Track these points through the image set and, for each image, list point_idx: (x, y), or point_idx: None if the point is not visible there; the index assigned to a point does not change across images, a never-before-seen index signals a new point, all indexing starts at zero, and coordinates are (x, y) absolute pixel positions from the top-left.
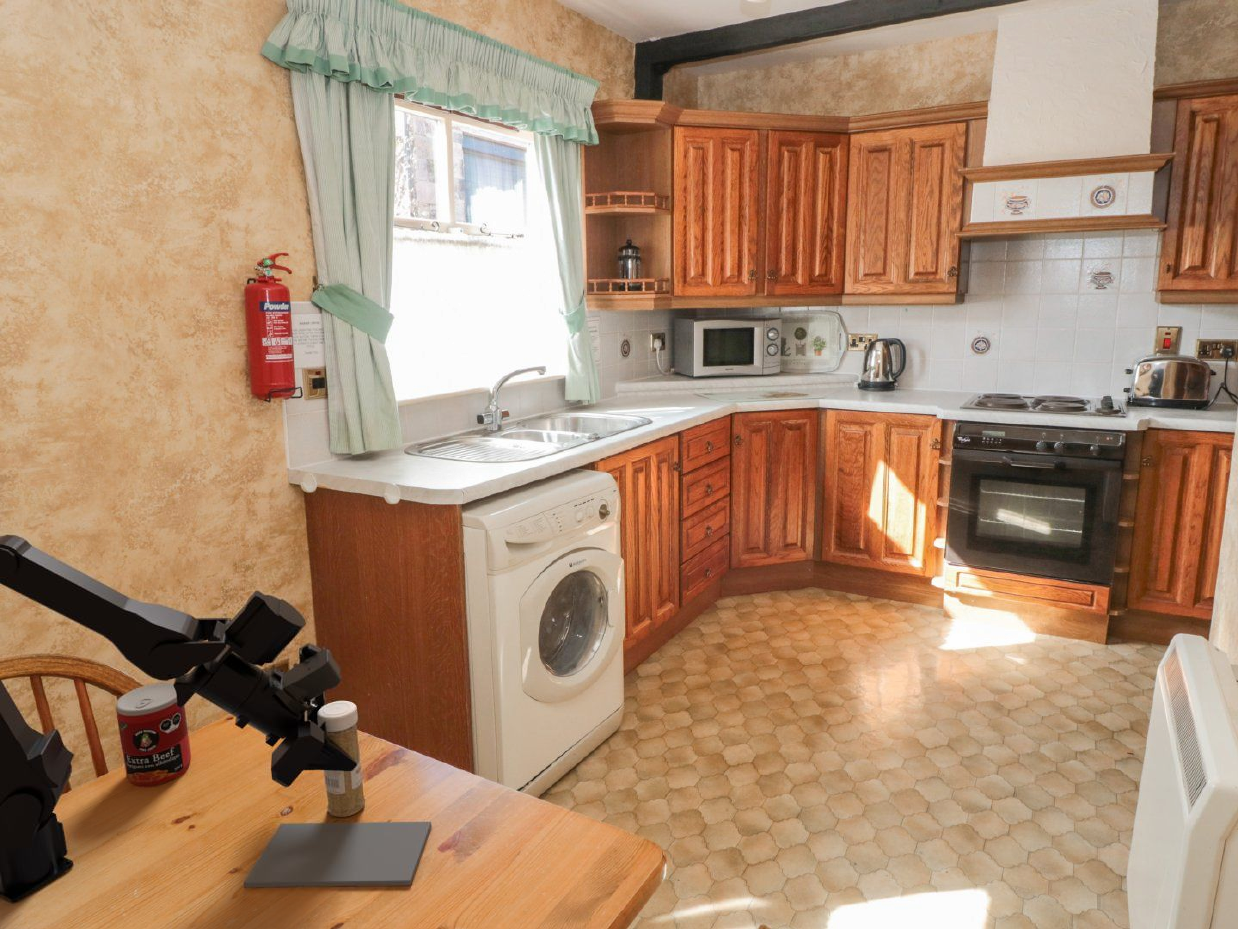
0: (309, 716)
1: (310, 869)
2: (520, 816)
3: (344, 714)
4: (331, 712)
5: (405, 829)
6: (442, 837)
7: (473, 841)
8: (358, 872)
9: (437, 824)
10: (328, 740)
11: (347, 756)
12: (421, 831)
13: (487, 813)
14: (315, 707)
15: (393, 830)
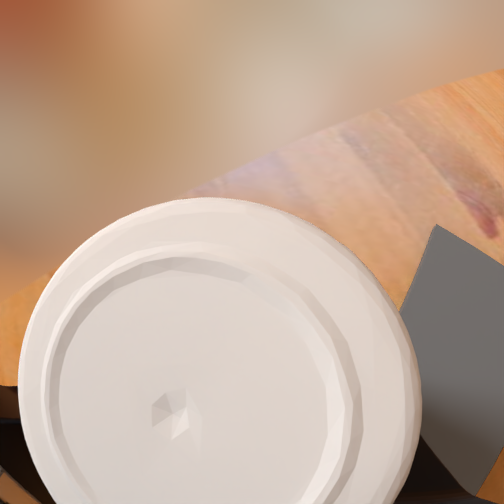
0: (46, 501)
1: (464, 472)
2: (443, 112)
3: (397, 364)
4: (237, 501)
5: (442, 276)
6: (466, 222)
7: (485, 184)
8: None
9: (429, 217)
10: (438, 496)
11: None
12: (458, 249)
13: (424, 140)
14: (4, 470)
15: (435, 300)
